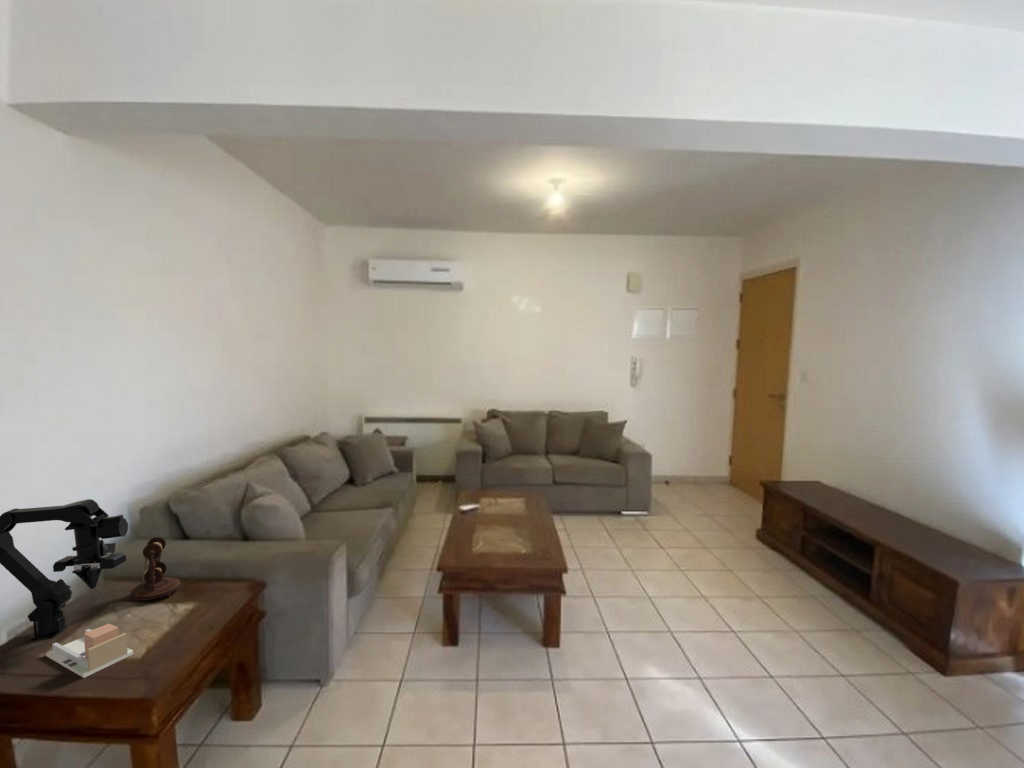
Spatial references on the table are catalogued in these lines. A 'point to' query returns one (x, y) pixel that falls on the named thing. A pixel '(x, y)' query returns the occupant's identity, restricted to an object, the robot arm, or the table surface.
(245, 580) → the table surface
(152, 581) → the brown upright piece
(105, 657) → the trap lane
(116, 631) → the slider block
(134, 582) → the table surface
